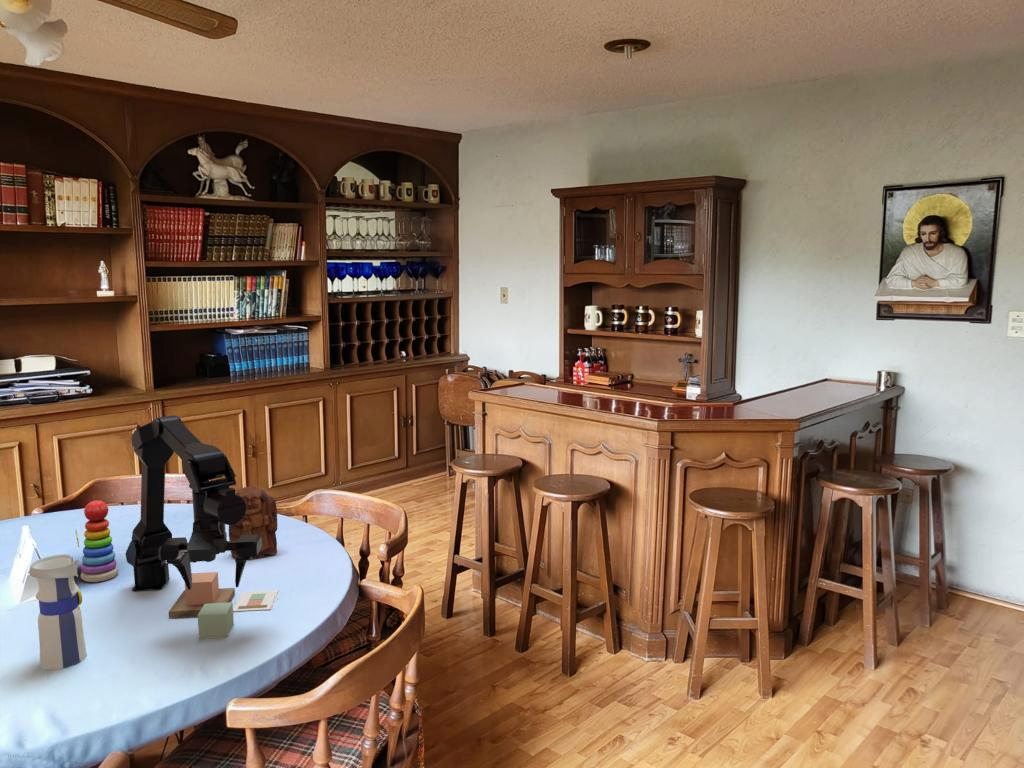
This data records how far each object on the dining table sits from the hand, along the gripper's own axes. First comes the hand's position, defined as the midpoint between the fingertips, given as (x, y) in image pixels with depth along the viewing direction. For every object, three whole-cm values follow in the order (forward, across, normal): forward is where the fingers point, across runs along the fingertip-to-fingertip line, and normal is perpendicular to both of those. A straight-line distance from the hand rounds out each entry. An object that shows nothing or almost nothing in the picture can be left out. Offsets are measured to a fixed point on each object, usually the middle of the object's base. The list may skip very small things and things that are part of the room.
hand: (213, 587), depth 159 cm
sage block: (+9, 0, 0) cm, 9 cm away
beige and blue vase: (+10, -26, -8) cm, 29 cm away
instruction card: (+9, +5, +14) cm, 17 cm away
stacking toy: (+10, -35, +33) cm, 49 cm away
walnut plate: (+9, -6, +13) cm, 17 cm away
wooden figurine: (+10, -1, +43) cm, 44 cm away
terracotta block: (+8, -6, +13) cm, 16 cm away
